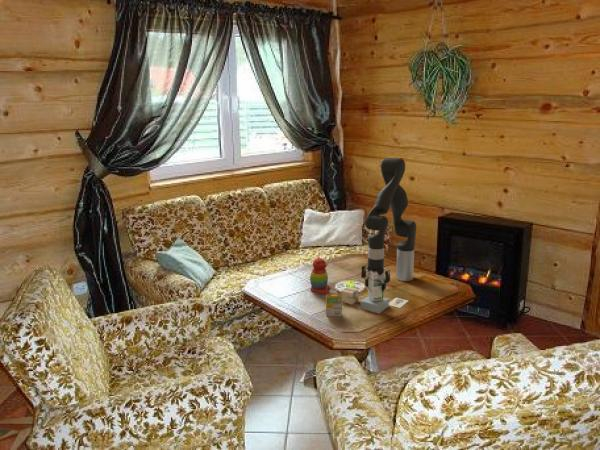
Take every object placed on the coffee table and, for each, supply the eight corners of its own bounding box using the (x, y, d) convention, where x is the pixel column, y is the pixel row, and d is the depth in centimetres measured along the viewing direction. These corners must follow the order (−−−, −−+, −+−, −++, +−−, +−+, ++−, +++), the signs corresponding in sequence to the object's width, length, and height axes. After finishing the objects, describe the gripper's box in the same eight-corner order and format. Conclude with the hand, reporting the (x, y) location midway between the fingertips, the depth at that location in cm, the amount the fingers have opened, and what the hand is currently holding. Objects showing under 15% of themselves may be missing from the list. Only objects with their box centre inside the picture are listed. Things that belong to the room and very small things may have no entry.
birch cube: (347, 297, 256) (347, 286, 255) (357, 300, 253) (358, 289, 251) (341, 301, 252) (341, 290, 250) (351, 304, 248) (352, 293, 247)
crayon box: (341, 313, 239) (341, 290, 236) (342, 316, 236) (342, 293, 233) (326, 313, 238) (325, 291, 235) (326, 316, 236) (326, 293, 232)
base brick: (370, 301, 251) (370, 294, 250) (388, 306, 245) (388, 298, 244) (360, 308, 243) (360, 301, 242) (379, 313, 238) (379, 305, 236)
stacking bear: (327, 295, 260) (327, 262, 255) (308, 293, 262) (308, 261, 257) (330, 287, 270) (330, 255, 265) (312, 285, 272) (311, 254, 267)
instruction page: (395, 297, 255) (395, 297, 255) (408, 300, 251) (408, 300, 251) (386, 304, 247) (386, 304, 247) (400, 308, 243) (400, 307, 243)
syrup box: (372, 301, 240) (372, 273, 236) (367, 296, 246) (367, 269, 241) (383, 300, 242) (384, 271, 237) (378, 295, 247) (378, 267, 243)
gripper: (393, 256, 236) (392, 288, 241) (366, 251, 244) (365, 282, 249) (386, 261, 230) (385, 294, 235) (358, 255, 238) (358, 287, 243)
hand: (375, 288), depth 242 cm, fingers closed on syrup box, 8 cm apart
